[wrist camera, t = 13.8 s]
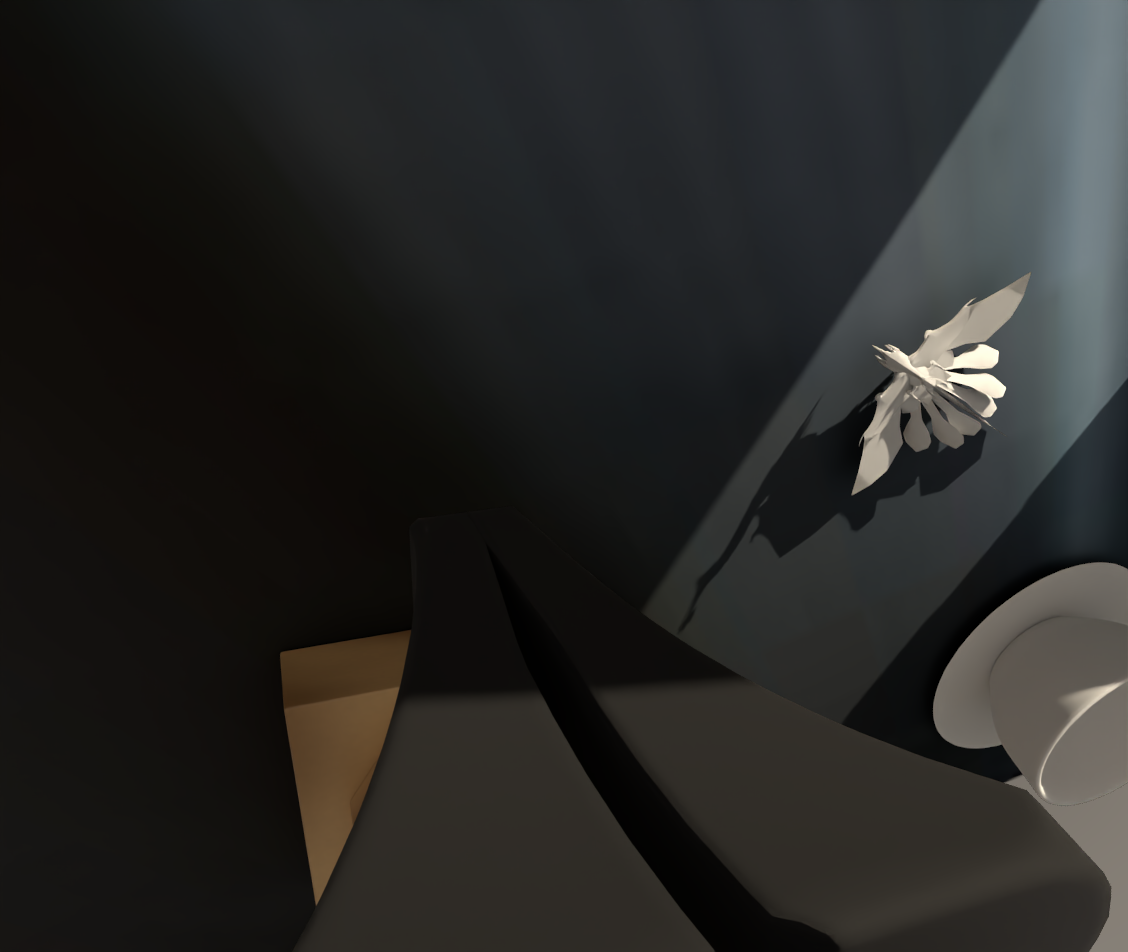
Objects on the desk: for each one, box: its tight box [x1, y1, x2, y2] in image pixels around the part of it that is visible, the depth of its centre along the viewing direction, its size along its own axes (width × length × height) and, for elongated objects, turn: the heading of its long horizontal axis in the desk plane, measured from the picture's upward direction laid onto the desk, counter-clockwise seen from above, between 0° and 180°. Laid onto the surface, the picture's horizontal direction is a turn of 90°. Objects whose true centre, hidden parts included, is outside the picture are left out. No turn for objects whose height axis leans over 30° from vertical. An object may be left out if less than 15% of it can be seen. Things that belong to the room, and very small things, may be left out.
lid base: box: [280, 630, 411, 906], centre depth 26 cm, size 10×10×4 cm
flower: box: [851, 272, 1031, 496], centre depth 26 cm, size 8×8×3 cm
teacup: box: [933, 562, 1128, 806], centre depth 34 cm, size 10×10×5 cm
